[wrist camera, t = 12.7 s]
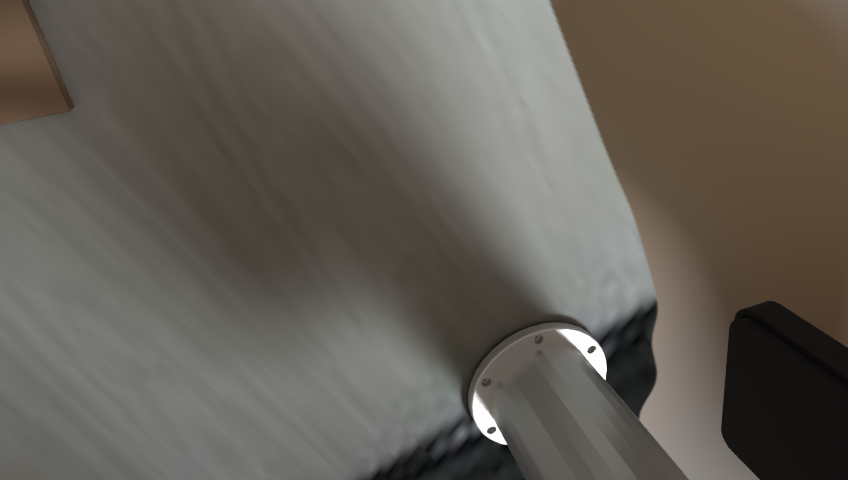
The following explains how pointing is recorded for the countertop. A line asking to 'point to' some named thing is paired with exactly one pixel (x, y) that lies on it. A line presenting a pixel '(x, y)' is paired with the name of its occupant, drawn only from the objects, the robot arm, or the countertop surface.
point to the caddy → (27, 68)
